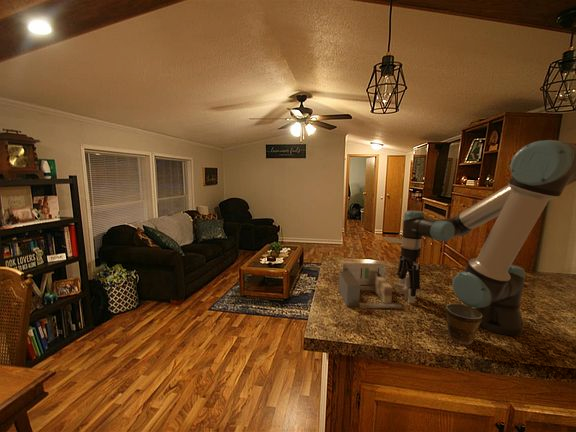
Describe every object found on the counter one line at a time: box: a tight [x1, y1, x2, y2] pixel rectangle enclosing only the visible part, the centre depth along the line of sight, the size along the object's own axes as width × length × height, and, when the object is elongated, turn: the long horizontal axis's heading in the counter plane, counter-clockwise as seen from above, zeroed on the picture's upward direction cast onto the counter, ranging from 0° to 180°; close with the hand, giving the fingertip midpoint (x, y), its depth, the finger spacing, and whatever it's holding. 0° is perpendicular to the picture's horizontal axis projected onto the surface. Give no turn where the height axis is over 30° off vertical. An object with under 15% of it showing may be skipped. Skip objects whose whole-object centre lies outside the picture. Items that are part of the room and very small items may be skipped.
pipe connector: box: [394, 275, 421, 300], centre depth 118 cm, size 10×10×10 cm
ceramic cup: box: [438, 303, 482, 346], centre depth 91 cm, size 13×10×10 cm
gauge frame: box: [338, 262, 402, 309], centre depth 119 cm, size 20×22×12 cm
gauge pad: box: [373, 274, 393, 304], centre depth 120 cm, size 15×3×7 cm, turn 1°
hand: (406, 297), depth 119 cm, fingers closed on pipe connector, 9 cm apart
